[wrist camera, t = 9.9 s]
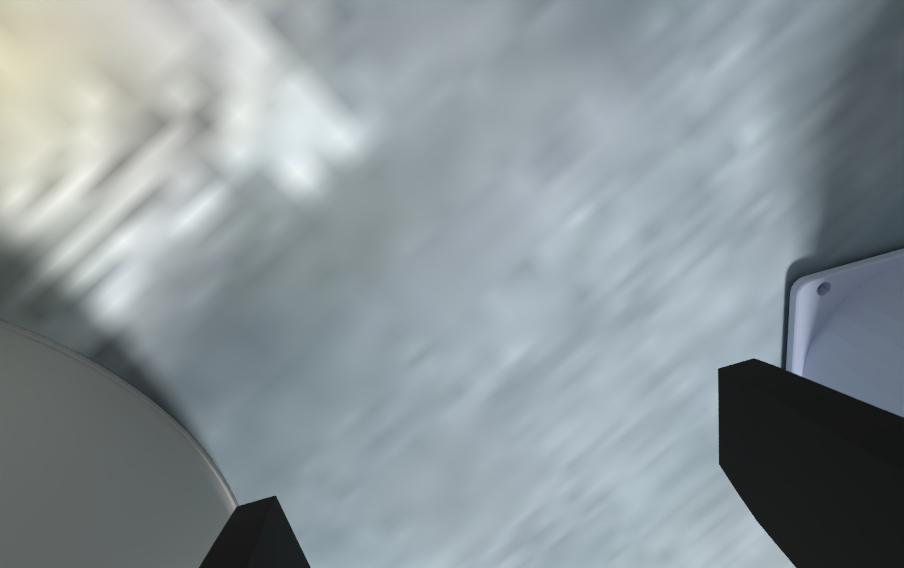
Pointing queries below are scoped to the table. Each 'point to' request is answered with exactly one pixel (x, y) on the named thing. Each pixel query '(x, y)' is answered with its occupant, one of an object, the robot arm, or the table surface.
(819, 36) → the table surface
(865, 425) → the robot arm
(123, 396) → the kettle
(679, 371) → the table surface
